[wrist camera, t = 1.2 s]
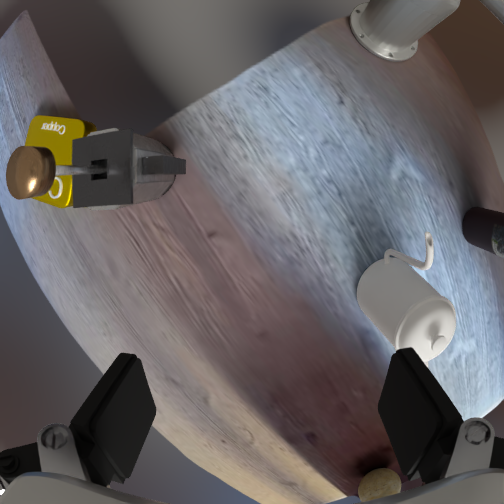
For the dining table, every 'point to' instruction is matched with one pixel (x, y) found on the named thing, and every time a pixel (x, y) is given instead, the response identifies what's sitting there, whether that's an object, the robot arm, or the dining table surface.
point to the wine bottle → (485, 229)
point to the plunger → (42, 171)
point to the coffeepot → (407, 304)
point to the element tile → (58, 151)
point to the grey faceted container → (123, 169)
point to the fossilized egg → (379, 484)
